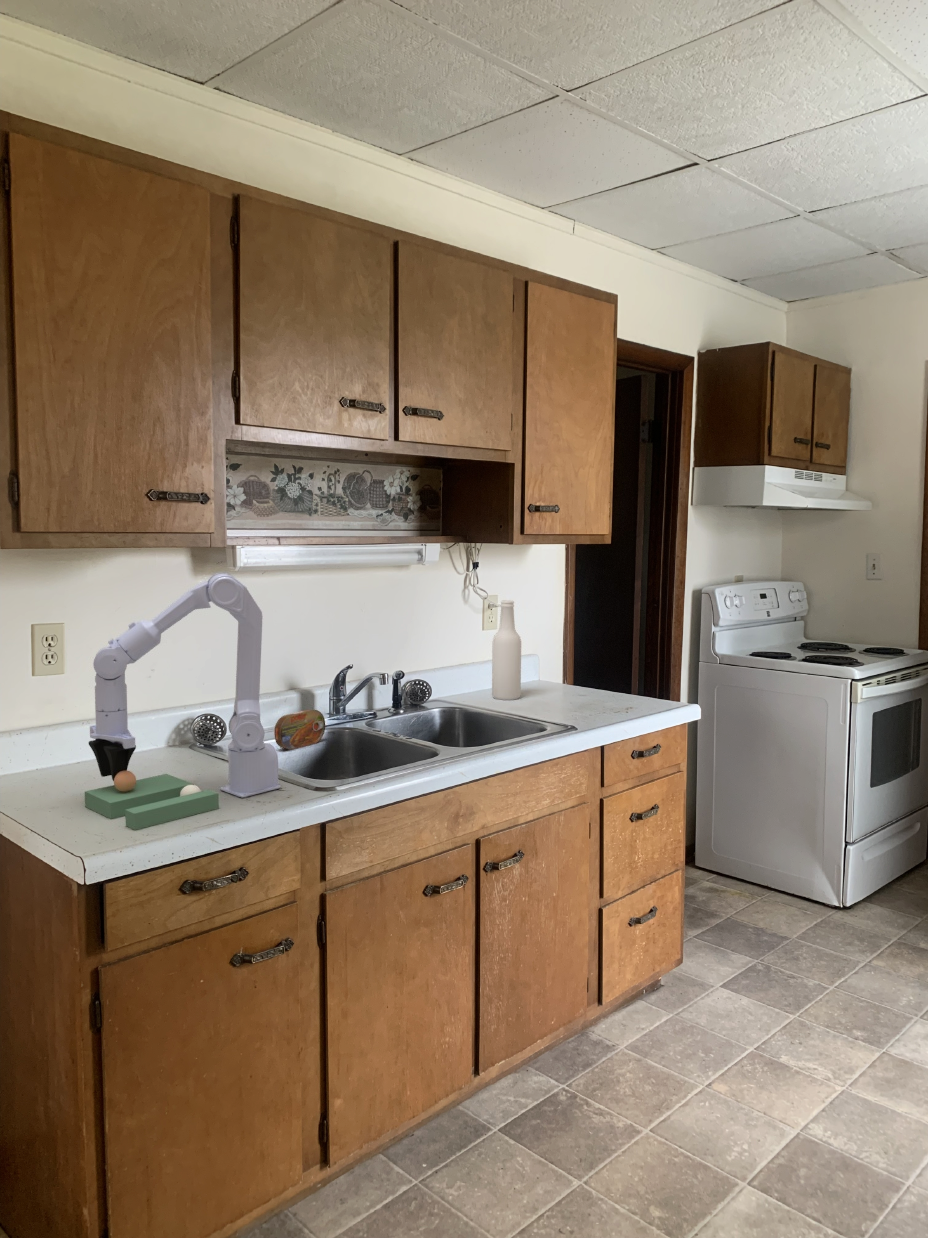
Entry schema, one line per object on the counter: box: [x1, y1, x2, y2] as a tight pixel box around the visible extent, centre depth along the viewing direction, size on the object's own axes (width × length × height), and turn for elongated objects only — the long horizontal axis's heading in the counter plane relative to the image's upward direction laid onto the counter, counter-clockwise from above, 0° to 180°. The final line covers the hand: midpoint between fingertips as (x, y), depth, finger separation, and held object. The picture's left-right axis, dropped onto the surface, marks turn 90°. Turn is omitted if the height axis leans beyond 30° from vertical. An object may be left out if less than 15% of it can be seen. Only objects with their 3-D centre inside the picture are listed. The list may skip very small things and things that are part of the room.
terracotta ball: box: [113, 769, 137, 792], centre depth 176 cm, size 4×4×4 cm
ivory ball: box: [180, 784, 202, 796], centre depth 177 cm, size 4×4×4 cm
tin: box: [274, 709, 326, 751], centre depth 224 cm, size 15×3×8 cm, turn 144°
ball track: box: [84, 773, 220, 831], centre depth 176 cm, size 17×19×3 cm
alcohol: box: [491, 599, 522, 701], centre depth 284 cm, size 9×9×30 cm
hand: (113, 778), depth 179 cm, fingers open, 4 cm apart
